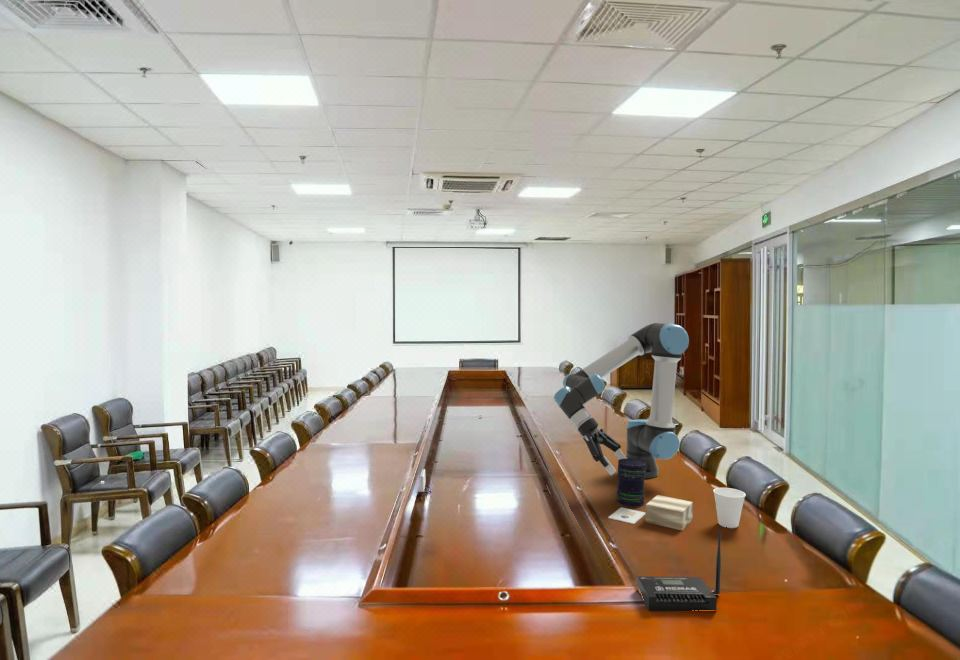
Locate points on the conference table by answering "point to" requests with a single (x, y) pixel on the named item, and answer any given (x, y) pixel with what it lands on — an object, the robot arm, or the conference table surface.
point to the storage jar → (631, 482)
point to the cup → (729, 506)
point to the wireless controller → (680, 591)
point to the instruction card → (627, 515)
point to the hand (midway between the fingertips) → (621, 469)
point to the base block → (669, 512)
